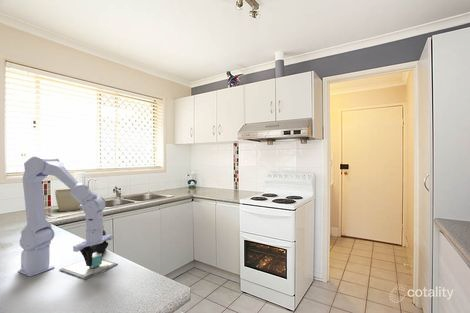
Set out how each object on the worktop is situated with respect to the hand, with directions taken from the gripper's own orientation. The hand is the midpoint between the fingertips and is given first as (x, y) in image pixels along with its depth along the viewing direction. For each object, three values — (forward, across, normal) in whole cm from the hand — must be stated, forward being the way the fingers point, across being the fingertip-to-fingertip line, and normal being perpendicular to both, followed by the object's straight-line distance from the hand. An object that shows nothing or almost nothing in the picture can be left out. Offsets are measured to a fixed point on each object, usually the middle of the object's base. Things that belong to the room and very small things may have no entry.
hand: (94, 263), depth 90 cm
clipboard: (+2, 0, +3) cm, 4 cm away
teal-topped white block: (+2, 0, 0) cm, 2 cm away
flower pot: (+2, +60, +126) cm, 140 cm away
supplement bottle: (+2, +12, +16) cm, 20 cm away
